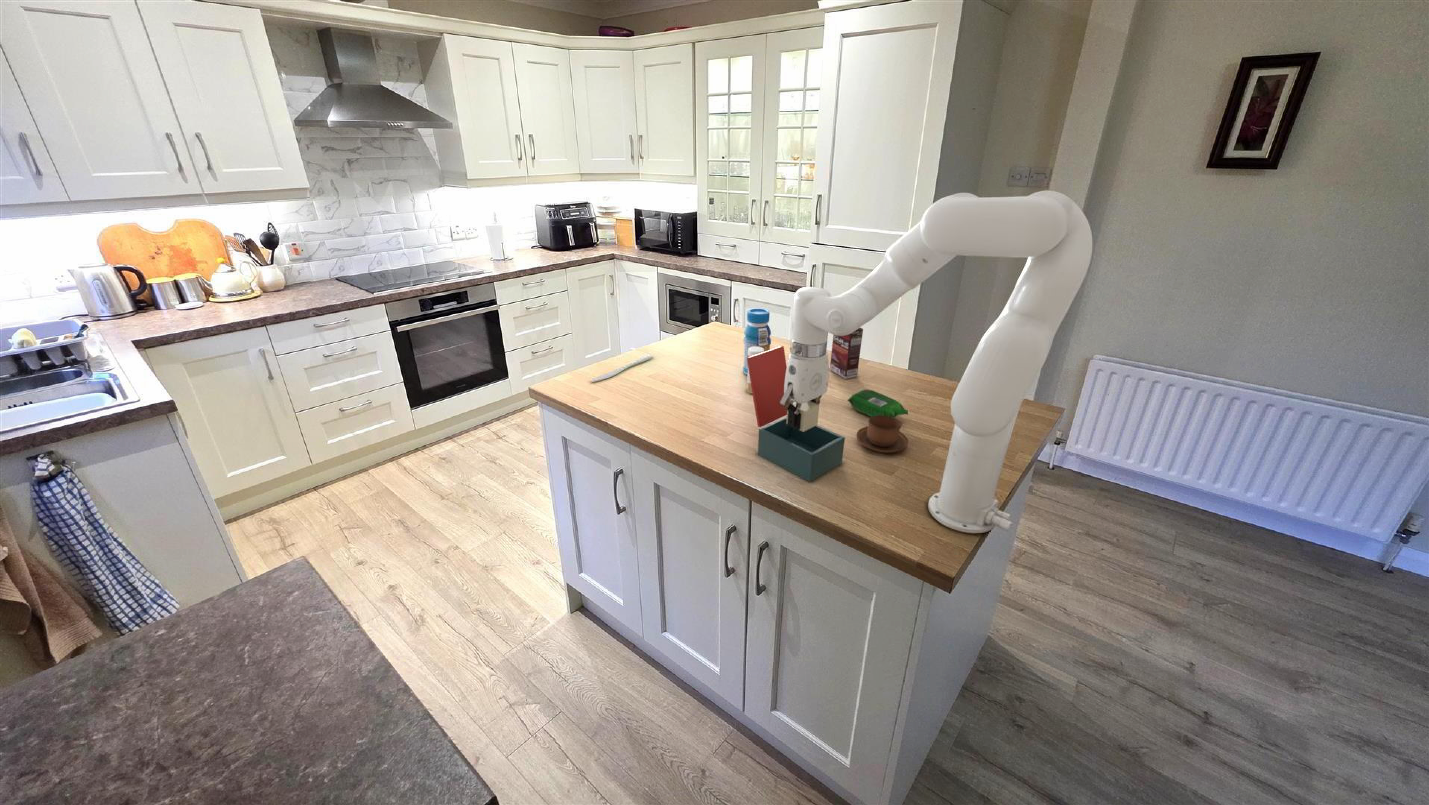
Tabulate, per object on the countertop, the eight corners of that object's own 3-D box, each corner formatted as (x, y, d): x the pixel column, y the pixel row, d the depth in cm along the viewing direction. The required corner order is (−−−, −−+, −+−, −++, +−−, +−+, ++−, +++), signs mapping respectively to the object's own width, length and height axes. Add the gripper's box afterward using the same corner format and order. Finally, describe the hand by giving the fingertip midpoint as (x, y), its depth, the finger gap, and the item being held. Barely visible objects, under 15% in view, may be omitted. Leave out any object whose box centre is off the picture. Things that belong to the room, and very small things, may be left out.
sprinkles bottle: (764, 390, 162) (766, 347, 156) (759, 396, 158) (761, 352, 152) (749, 387, 164) (751, 344, 158) (744, 393, 160) (745, 349, 154)
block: (817, 424, 123) (819, 404, 121) (803, 432, 120) (805, 411, 118) (800, 417, 127) (802, 397, 125) (786, 424, 124) (787, 404, 122)
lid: (783, 345, 129) (781, 345, 129) (749, 357, 122) (746, 357, 122) (793, 412, 133) (790, 411, 133) (760, 427, 126) (757, 427, 126)
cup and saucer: (868, 427, 141) (871, 406, 138) (914, 442, 134) (918, 420, 132) (847, 445, 133) (850, 423, 130) (894, 462, 126) (898, 439, 123)
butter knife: (656, 356, 185) (649, 354, 186) (595, 382, 165) (588, 380, 167) (656, 358, 185) (649, 355, 186) (595, 384, 166) (588, 381, 167)
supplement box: (828, 369, 176) (833, 322, 169) (841, 367, 178) (846, 320, 171) (845, 379, 169) (851, 330, 162) (857, 377, 171) (864, 328, 164)
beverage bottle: (739, 375, 172) (741, 313, 163) (746, 366, 179) (748, 306, 170) (766, 378, 170) (769, 316, 161) (771, 369, 177) (775, 308, 168)
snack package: (890, 429, 140) (893, 411, 138) (844, 407, 152) (846, 389, 150) (907, 422, 144) (911, 404, 142) (861, 400, 156) (864, 384, 153)
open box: (841, 463, 126) (845, 437, 123) (809, 482, 119) (812, 455, 116) (790, 438, 136) (791, 413, 133) (757, 454, 129) (758, 428, 126)
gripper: (795, 362, 108) (789, 442, 116) (847, 343, 118) (838, 417, 126) (767, 352, 113) (763, 429, 121) (819, 334, 123) (812, 407, 131)
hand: (802, 422), depth 123 cm, fingers closed on block, 5 cm apart
